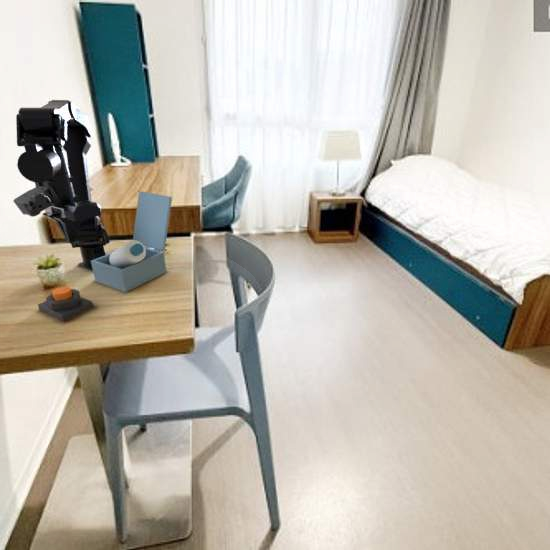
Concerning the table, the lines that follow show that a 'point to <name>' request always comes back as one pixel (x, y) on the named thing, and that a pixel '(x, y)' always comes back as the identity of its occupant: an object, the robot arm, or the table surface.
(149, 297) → the table surface
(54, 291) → the button
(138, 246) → the detergent bottle
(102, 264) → the blue open box
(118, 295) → the table surface
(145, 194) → the blue-grey box lid
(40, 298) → the table surface
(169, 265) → the table surface
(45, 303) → the control block
